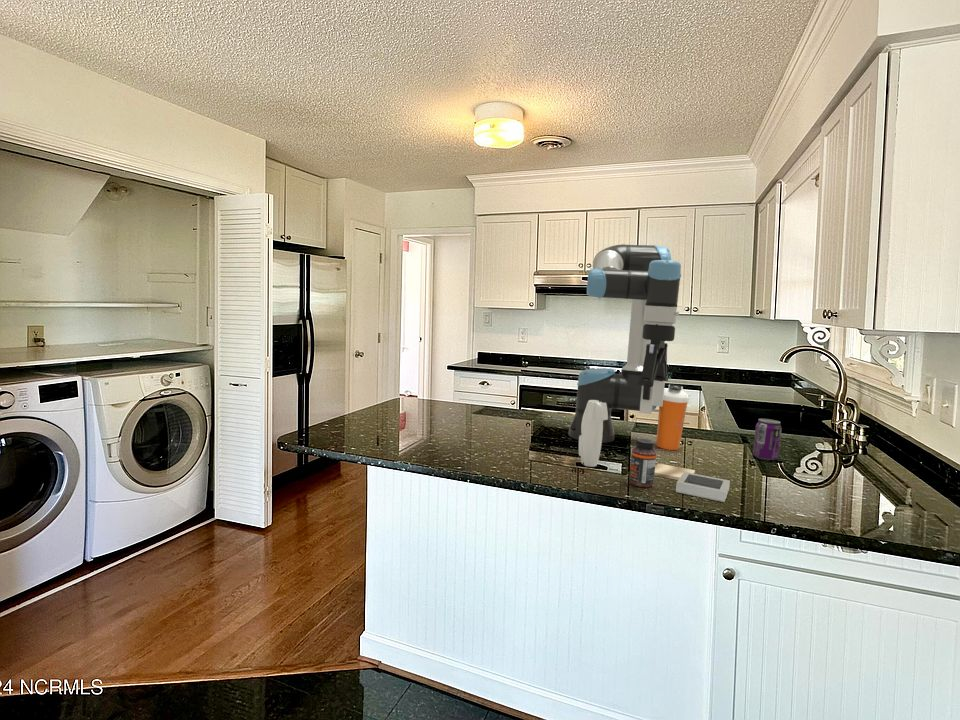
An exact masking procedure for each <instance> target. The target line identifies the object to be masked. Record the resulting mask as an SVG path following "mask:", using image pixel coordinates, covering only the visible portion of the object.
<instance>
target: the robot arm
mask: <svg viewBox="0 0 960 720" xmlns="http://www.w3.org/2000/svg"><path fill="white" fill-rule="evenodd" d="M681 266H682V265H681V263H680V262H679V261H677V260H672V255H671V252H670V249H669V248H668V247H667V246H661V245H650V244H649V245H646V244H622V243H621V244H615V245H611V246H609V247H605V248H603V249H601V250H600V251H598V253H596V255H595V256H594V258H593V261H592V268H591V269H589V270H588V273H587V283H586V295H587V296H588V297H591V298H592V297H593V298H598V299H602V298H605V299H622V300H623V299H626V300H631V309H630V319H629V320H630V322H629V332H628V346H627V357H626V364H625V365H624V366H623V367H622V368H621V372H620V373H616V371H615V369H614V368H606V367H605V368H601V367H600V368H589V369H588V368H587V369H584V370H582V371H580V373H579V375H578V379H577V384H576V385H577V393H576V402H575V414H574V416H573V418H572V421H571V423H570V426H569V428H568V436H569V437H570V438H572V439H574V440H577V441H579V436H580V435H582V434H581V424H582V418H583V415H584V411H585V409H586V406H587V403H588V401H589V400H598V401H599V402H600V401H601V402H602V403H606V404H607V411H608V420H604V421H603V435H602V443H603V444H604V443H611V442H614V441H615V430H614V425H613V419H612V409H615V410H623V411H624V410H626V411H634V412H635V411H636V412H639V413H641V414H649V415H652V413H653V412H654V411H655V410H656V409H657V407H659V406H661V407H662V406H663V396H664V389H665V386H666V385H665V384H666V382H669V376H668V373H667V372H668V366H667V365H668V347H669V345H668V343H665V342H673V341H674V340H675V337H676V336H675V335H676V334H675V333H676V327H675V326H674V324H676V321H677V316H679V315H680V312H679V311H677V310H678V301H679V291H680V283H681V282H680V281H681V278H682V274H681V273H682V269H681V268H682V267H681Z"/></svg>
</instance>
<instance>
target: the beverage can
mask: <svg viewBox="0 0 960 720" xmlns="http://www.w3.org/2000/svg"><path fill="white" fill-rule="evenodd" d="M757 421H758V422H756V424H755V431H754V440H753V446H752V447H753V448H752V455H753V456H754V457H756V458H757V459H760V460H762V461H770V460H772V461H774V460H777V459H779V456H780V455H779V453H780V444H781V437H782V426H781V425H782V424H781V421H779V420H776V419H770V418H758V420H757Z"/></svg>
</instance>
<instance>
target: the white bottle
mask: <svg viewBox="0 0 960 720" xmlns="http://www.w3.org/2000/svg"><path fill="white" fill-rule="evenodd" d="M604 420H608V411H607V404H606V403H602V402H601V401H600V402H599V401H598V400H589V401H588V403H587V406H586V409H585V411H584V415H583V418H582V424H581V434H582V435H580V436H579V440H578V456H579V457H580V461H581V464H582V465H583V466H585V467H591V468H595V467H597V466H598V462H599V460H600V455H601V450H602V435H603V421H604Z"/></svg>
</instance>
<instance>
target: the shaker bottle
mask: <svg viewBox="0 0 960 720" xmlns="http://www.w3.org/2000/svg"><path fill="white" fill-rule="evenodd" d="M683 389H684V387H683V386H682V385H676V384H668V388H664V396H663V406H662V407H661V406H658V417H657V418H658V419H657V431H656V442H655V443H656V444H655V445H656V447H658V448H661V449H664V450H669V451H677V450H679V449H680V446H681V439H682V433H683V428H684V423H685V417H686V413H687V407H688V403H689V399H690V396H689V395H688V393H687V392H685V391H684V390H683Z"/></svg>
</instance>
